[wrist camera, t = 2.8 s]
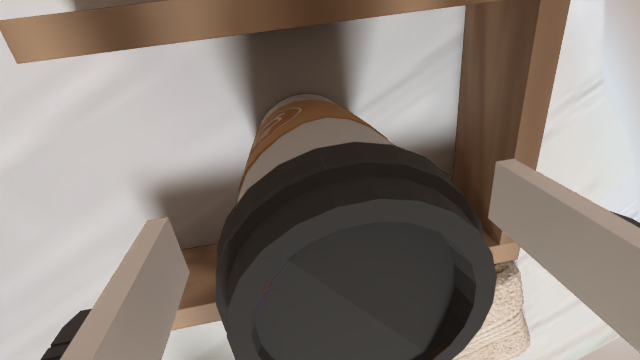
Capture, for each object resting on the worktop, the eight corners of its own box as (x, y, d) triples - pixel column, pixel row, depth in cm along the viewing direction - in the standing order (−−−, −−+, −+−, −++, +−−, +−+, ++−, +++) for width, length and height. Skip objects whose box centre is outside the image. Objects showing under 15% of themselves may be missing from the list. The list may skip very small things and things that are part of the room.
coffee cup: (303, 45, 19) (389, 92, 6) (388, 136, 23) (564, 294, 9) (215, 143, 21) (129, 349, 8) (306, 214, 24) (356, 441, 11)
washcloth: (332, 323, 31) (338, 353, 28) (507, 250, 30) (532, 272, 27) (369, 388, 36) (378, 418, 33) (519, 326, 36) (540, 352, 33)
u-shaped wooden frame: (178, 267, 25) (154, 334, 19) (79, 22, 17) (-5, 21, 12) (467, 212, 27) (517, 259, 21) (492, -29, 19) (580, -50, 14)
